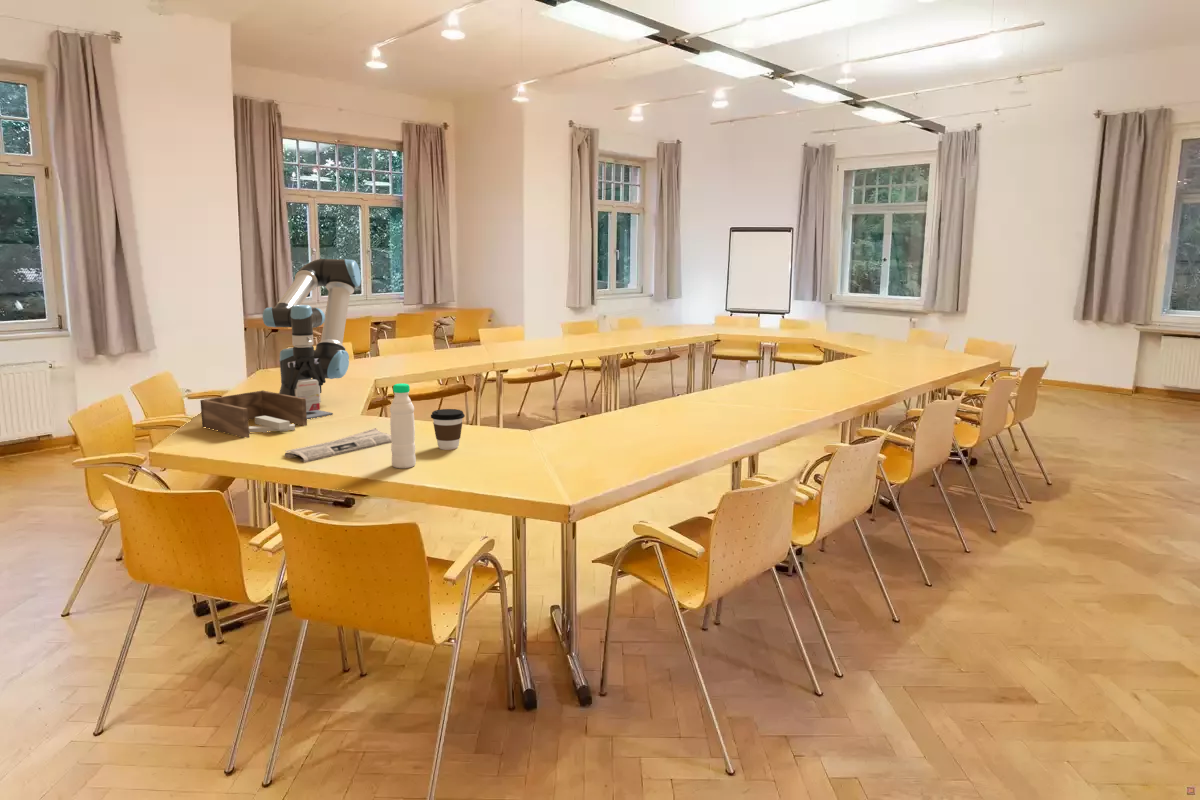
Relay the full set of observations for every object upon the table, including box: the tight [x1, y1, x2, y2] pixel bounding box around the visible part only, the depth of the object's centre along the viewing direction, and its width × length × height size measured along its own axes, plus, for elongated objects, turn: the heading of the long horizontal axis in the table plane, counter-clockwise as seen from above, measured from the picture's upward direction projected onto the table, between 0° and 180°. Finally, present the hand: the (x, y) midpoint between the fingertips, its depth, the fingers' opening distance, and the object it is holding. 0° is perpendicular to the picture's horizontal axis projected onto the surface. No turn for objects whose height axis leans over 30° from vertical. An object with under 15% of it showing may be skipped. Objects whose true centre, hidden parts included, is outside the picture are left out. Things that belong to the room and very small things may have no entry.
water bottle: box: [389, 382, 417, 469], centre depth 237 cm, size 7×7×25 cm
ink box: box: [295, 378, 321, 412], centre depth 305 cm, size 9×5×12 cm, turn 129°
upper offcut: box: [254, 416, 291, 430], centre depth 281 cm, size 15×4×2 cm, turn 55°
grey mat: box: [306, 409, 334, 420], centre depth 306 cm, size 13×14×1 cm
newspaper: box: [284, 427, 392, 464], centre depth 258 cm, size 35×12×4 cm, turn 144°
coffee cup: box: [430, 408, 465, 451], centre depth 261 cm, size 11×11×12 cm
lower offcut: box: [249, 423, 296, 434], centre depth 281 cm, size 15×4×2 cm, turn 111°
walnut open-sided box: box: [199, 390, 308, 438], centre depth 286 cm, size 25×26×10 cm
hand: (306, 403), depth 306 cm, fingers closed on ink box, 9 cm apart
